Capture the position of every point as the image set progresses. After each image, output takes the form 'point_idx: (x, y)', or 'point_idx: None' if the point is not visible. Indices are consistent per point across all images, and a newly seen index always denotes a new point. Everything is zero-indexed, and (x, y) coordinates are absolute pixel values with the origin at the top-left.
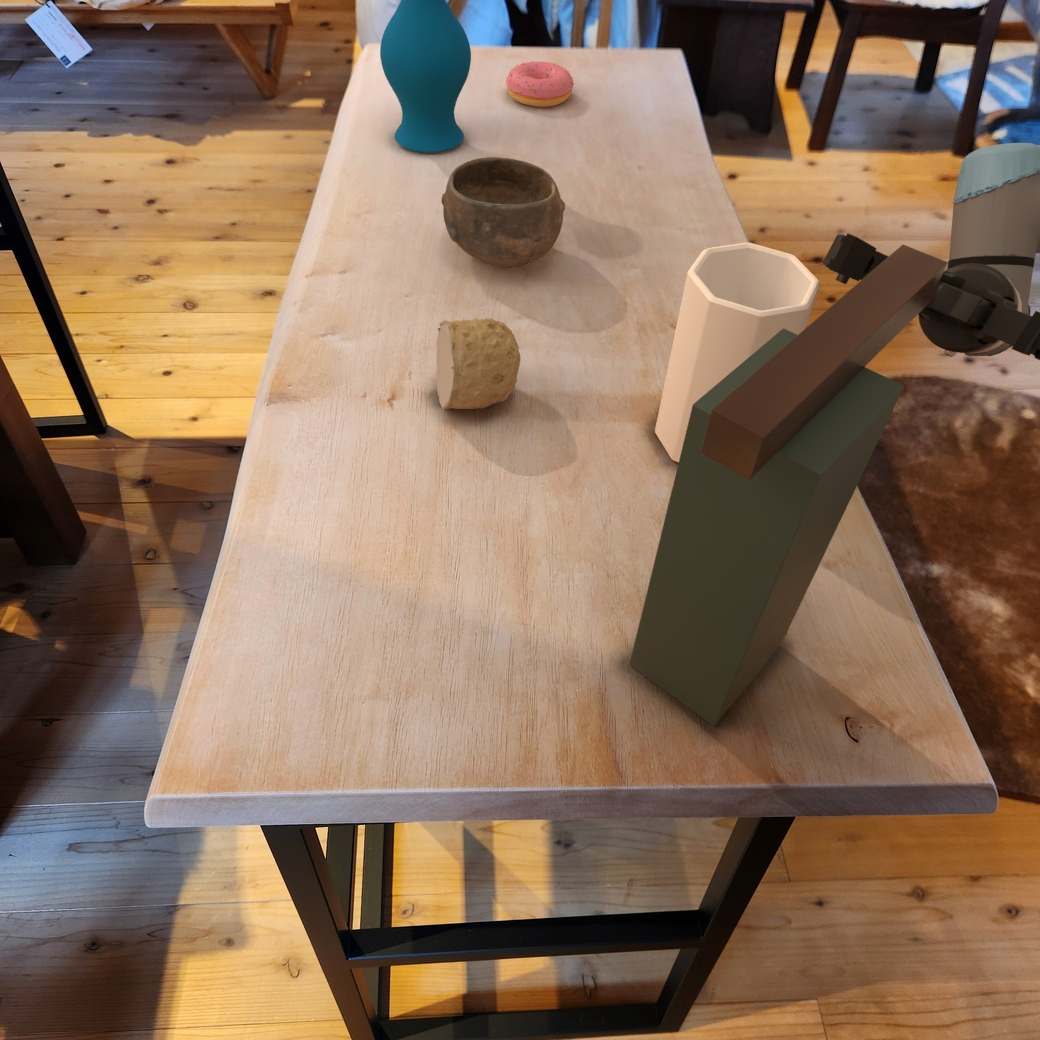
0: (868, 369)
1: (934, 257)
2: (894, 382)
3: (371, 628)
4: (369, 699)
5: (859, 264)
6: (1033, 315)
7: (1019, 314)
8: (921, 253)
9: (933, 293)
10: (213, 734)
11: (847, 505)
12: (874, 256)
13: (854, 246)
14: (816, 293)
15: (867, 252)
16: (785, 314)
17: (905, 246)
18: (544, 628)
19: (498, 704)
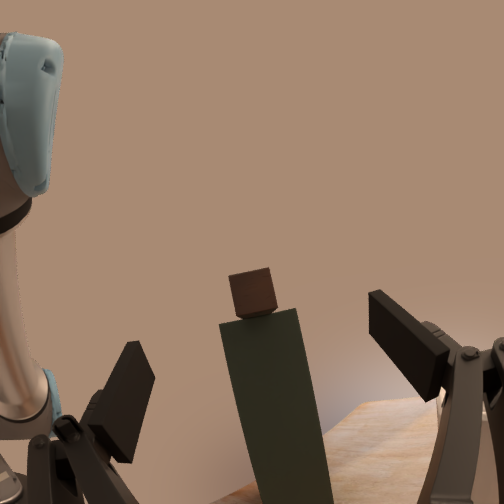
0: (240, 320)
1: (239, 273)
2: (224, 323)
3: (393, 422)
4: (364, 424)
5: (406, 357)
6: (140, 344)
7: (126, 501)
8: (250, 271)
9: (234, 305)
10: (374, 404)
11: (239, 416)
12: (452, 381)
13: (373, 306)
14: (482, 426)
15: (411, 343)
16: (437, 404)
17: (265, 268)
18: (361, 460)
19: (338, 447)
